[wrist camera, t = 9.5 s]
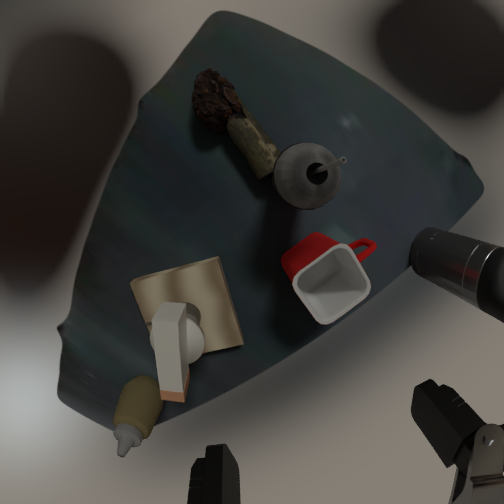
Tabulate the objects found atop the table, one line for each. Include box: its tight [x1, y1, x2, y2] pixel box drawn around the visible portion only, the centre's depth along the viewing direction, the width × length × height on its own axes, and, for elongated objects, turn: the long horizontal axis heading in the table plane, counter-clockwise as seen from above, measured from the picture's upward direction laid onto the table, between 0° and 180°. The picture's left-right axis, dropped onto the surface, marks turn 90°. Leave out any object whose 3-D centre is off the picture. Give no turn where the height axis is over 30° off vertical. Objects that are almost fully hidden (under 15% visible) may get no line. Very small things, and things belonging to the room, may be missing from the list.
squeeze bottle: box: [113, 375, 163, 457], centre depth 37 cm, size 8×8×18 cm
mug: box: [281, 232, 377, 324], centre depth 37 cm, size 12×8×11 cm
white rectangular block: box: [150, 302, 205, 402], centre depth 30 cm, size 11×7×6 cm, turn 176°
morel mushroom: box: [192, 68, 281, 180], centre depth 35 cm, size 18×7×6 cm, turn 34°
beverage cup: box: [272, 143, 347, 210], centre depth 29 cm, size 7×7×20 cm
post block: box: [130, 256, 244, 354], centre depth 38 cm, size 14×14×9 cm
